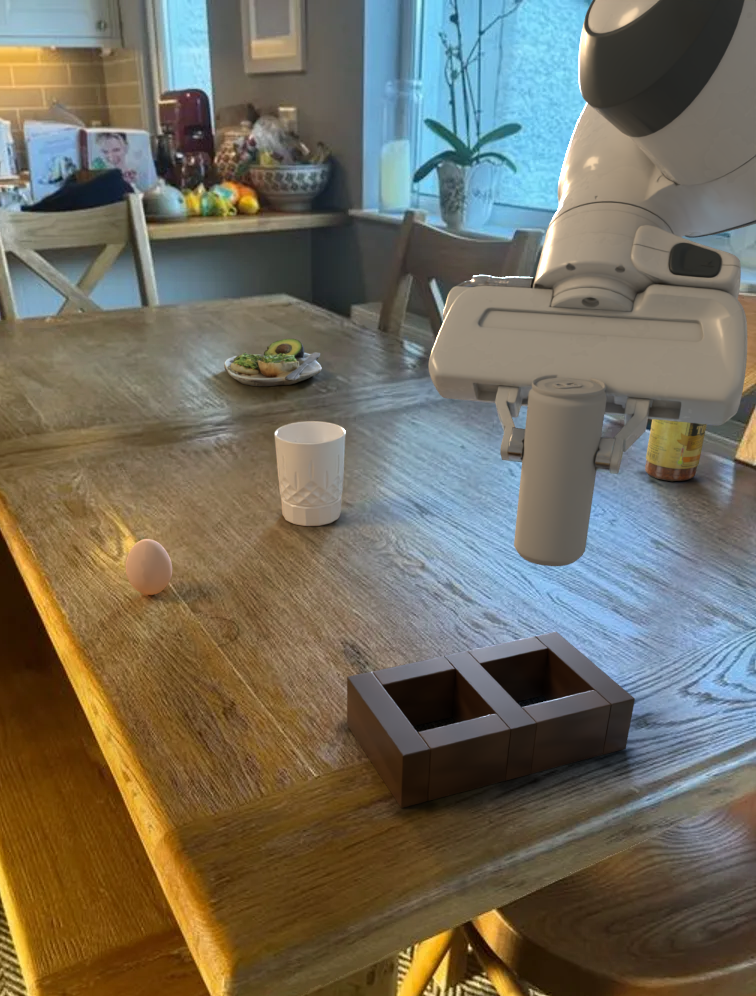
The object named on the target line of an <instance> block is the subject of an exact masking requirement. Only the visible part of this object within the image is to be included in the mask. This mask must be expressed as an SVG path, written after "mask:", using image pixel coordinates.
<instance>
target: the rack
mask: <svg viewBox="0 0 756 996" xmlns="http://www.w3.org/2000/svg"><path fill="white" fill-rule="evenodd" d="M539 697H543V698H544V699H545V700H546V701H543V702H538V703H534V704H529V705H526V706H521V705H520V704H519V703H518V702H522V701H526V700H531V699H534V698H539ZM346 699H347V700H346V712H347V713H346V726H347V727H348V729H349V730H350V732H351V733H352V735H353V736H354V738H355V739H356V741H357V743H358V744H359V745H360V747H361V749H362V750H363V752H364V753H365V755H366V756H367V758H368V759H369V761H370V763H371V764H372V765H373V767H374V769H375V770H376V772H377V773H378V775H379V776H380V778H381V779H382V781H383V782H384V784H385V785H386V787H387V789H388V790H389V792H390V793H391V795H392V796H393V798H394V799H395V801H396V803H397V804H398V806H399V807H400V808H401V809H404V808H407V807H411V806H414V805H418V804H422V803H425V802H430V801H434V800H437V799H441V798H445V797H449V796H452V795H456V794H461V793H464V792H467V791H471V790H475V789H479V788H483V787H486V786H490V785H494V784H497V783H501V782H502V783H503V782H505V781H510V780H514V779H518V778H521V777H525V776H529V775H533V774H535V773H540V772H543V771H548V770H550V769H554V768H558V767H562V766H566V765H570V764H573V763H577V762H581V761H584V760H588V759H592V758H596V757H599V756H603V755H609V754H611V753H615V752H619V751H623V750H626V749H627V743H628V740H629V739H628V738H629V732H630V727H631V722H632V717H633V711H634V706H635V701H636V700H635V699H636V698H635V697H634V696H633V695H632V694H630V693H629V692H628V691H627V690H625V689H624V688H623V687H622V686H621V685H619V683H617V682H616V681H615V680H614V679H612V677H610V676H609V675H608V673H606V672H604V671H603V670H602V669H601V668H599V666H597V665H596V664H595V663H594V662H593V661H592V660H590V659H589V658H588V657H587V656H586V655H585V654H584V653H582V652H581V651H580V650H579V649H578V648H576V646H574V645H573V644H571V642H569V641H568V640H567V639H566V638H565V637H564V636H563V635H561V634H560V633H559V632H558V631H551V632H547V633H542V634H538V635H533V636H528V637H525V638H520V639H515V640H510V641H505V642H502V643H497V644H492V645H486V646H483V647H477V648H473V649H468V650H463V651H459V652H454V653H449V654H445V655H441V656H437V657H432V658H428V659H427V658H426V659H423V660H418V661H414V662H409V663H405V664H401V665H395V666H390V667H387V668H382V669H377V670H372V671H367V672H363V673H358V674H353V675H348V676H347V677H346ZM450 718H453V720H454V721H455V723H451V724H446V725H443V726H439V727H434V728H430V729H426V730H421V731H417V730H416V729H415V727H416V726H420V725H424V724H428V723H433V722H437V721H442V720H445V719H450Z"/></svg>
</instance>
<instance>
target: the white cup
mask: <svg viewBox="0 0 756 996" xmlns="http://www.w3.org/2000/svg"><path fill="white" fill-rule="evenodd" d="M273 434H274V435H273V436H274V445H275V457H276V467H277V479H278V486H279V488H278V489H279V494H280V499H281V514H282V516H283V518H284V519H285V521H286V522H289V523H291V524H293V525H298V526H304V527H319V526H324V525H328V524H332V523H333V522H335V521H337V520H339V518H340V516H341V514H342V495H343V489H344V478H345V477H344V476H345V475H344V474H345V452H346V430H345V428H344V427H342V426H341V425H338V424H337V423H333V422H328V421H317V420H315V421H314V420H308V421H296V422H292V423H288V424H283V425H282V426H280V427H278V428H276V429H275V431H274V433H273Z"/></svg>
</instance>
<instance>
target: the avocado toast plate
mask: <svg viewBox="0 0 756 996" xmlns="http://www.w3.org/2000/svg"><path fill="white" fill-rule="evenodd" d="M320 357H321V353H320V352H314V351H313V352H312V353H308V352H305V348H304V344H303V343H302V342H301V341H300V340H299V339H297V338H282V339H279V340H275V341H273V342H271V343H270V344H269V345H268V346H266V349H265V351H263V353H262V354H261V353H260V354H259V353H256V354H251V353H247V352H243V353H242V354H241V353H240V354H238V355H235V356H231V357H229V358H227V359H226V360H224V364H223V366H224V367H223V368H224V370H225V371H226V372H227V374H228V375H229V376H230V377H231V378H233V379H234V380H236V381H237V382H239V383H241V384H242V385H246V386H253V387H274V386H287V385H288V386H289V385H294V384H297V383H299V382H303V381H306V380H307V379H310V378H312V377H314V376H316V375H318V374H320V373H321V371H322V369H323V367H322V365H321V364H320V363H319V362H318V359H320Z"/></svg>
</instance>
